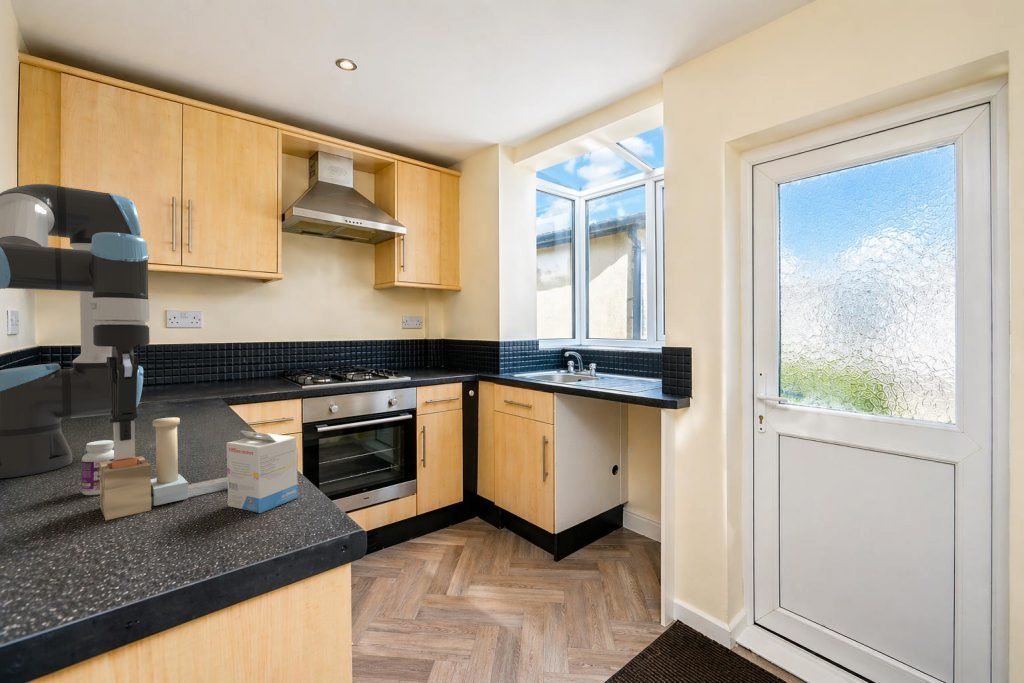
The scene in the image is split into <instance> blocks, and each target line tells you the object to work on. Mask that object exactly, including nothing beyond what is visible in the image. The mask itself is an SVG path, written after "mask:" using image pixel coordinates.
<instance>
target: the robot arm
mask: <svg viewBox="0 0 1024 683" xmlns="http://www.w3.org/2000/svg"><path fill="white" fill-rule="evenodd" d="M49 236H50V237H58V238H66V239H67V238H68V239H69V247H71V248H63V247H62V248H61V247H53V246H52V247H51V246H49ZM149 259H150V255H149V251H148V242H147V240H146V239H145V238H144V237H142V236H141V224H140V218H139V214H138V210H137V207H136V204H135V203H134V201H133V200H131V198H129V197H126V196H122V195H117V194H113V193H111V192H103V191H95V190H87V189H83V188H75V187H68V186H67V187H66V186H61V185H58V184H57V185H56V184H51V183H50V184H49V183H32V184H25V185H20V186H19V185H18V186H14V187H11V188H9V189H6V190H3V191H1V192H0V290H1V289H4V290H5V289H12V290H13V289H15V290H16V289H17V290H18V289H19V290H20V289H21V290H42V291H63V292H64V291H65V292H67V291H68V292H70V291H71V292H79V310H80V311H79V314H80V315H79V316H80V317H79V318H80V319H79V320H80V322H79V323H80V354H79V355H78V356H77V357H76V358H74V359H73V360H72V368H62V366H60V364H59V363H56V362H55V363H46V364H37V365H36V364H34V365H27V366H19V367H12V368H5V369H1V370H0V479H9V478H16V477H23V476H31V475H37V474H41V473H46V472H50V471H54V470H57V469H61V468H65V467H66V466H69V465H71V464H72V463H73V452H72V449H71V448H70V446H69V444H68V442H67V439H66V437H65V436H64V433H63V432H62V425H61V424H62V420H64V419H66V420H67V419H75V418H85V417H86V418H87V417H95V416H105V415H111V416H112V418H110V419H109V424H112V426H113V427H112V428H113V429H112V430H113V431H112V432H113V433H112V434H113V443H114V447H113V450H114V459H115V460H119V459H126V458H132V457H136V443H135V442H136V437H135V433H136V432H135V429H136V428H135V425H136V424H135V419H138V414H137V407H138V406H139V403H140V400H141V396H142V391H143V384H144V368H143V366H141V365H139V364H140V360H139V356H136V355H134V353H135V352H134V347H144V346H145V347H146V346H149V345H150V342H151V341H150V326H148V325H147V324H146V323H148V322H149V321H150V299H149Z"/></svg>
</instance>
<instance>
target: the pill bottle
mask: <svg viewBox="0 0 1024 683" xmlns="http://www.w3.org/2000/svg"><path fill="white" fill-rule="evenodd" d="M85 450H86V452H87V453H85V454H84V455H83V456H82V457H81V493H82V495H85V496H97V495H100V467H99V463H102V462H108V461H112V460H113V459H114V440H109V439H108V440H107V439H105V440H104V439H103V440H95V441H91V442H87V443H86V446H85Z"/></svg>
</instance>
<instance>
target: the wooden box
mask: <svg viewBox="0 0 1024 683" xmlns="http://www.w3.org/2000/svg"><path fill="white" fill-rule="evenodd" d="M136 457H137V465H132V466H126V467H120V468H114V469H112V461H108V462H102V463H99V467H100V494H99V500H100V501H99V504H100V505H99V507H100V510H101V513H102V515H103V517H104V519H105V521H109V520H113V519H118V518H122V517H126V516H131V515H135V514H140V513H145V512H149V511H152V506H151V479H152V478H151V464H150V463H149V462H148V460H146V459H145V457H144V456H143V455H141V456H136Z"/></svg>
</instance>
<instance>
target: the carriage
mask: <svg viewBox="0 0 1024 683" xmlns="http://www.w3.org/2000/svg"><path fill="white" fill-rule="evenodd" d="M180 422H181V419H180V417H175V416H174V417H173V416H172V417H164V418H157V419H156V418H155V419H153V420H152V427H153V428H155V464H156V465H155V468H156V477H155V478H151V493H152V495H153V506H160V505H164V504H168V503H173V502H177V501H182V500H187V499H189V498H188V494H187V490H188V485H189V482H188V481H187V480H186V479H185V478H184V477H183V476H182V475H181V474H180V473H179V465H178V464H179V462H178V460H179V458H178V425H180Z"/></svg>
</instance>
